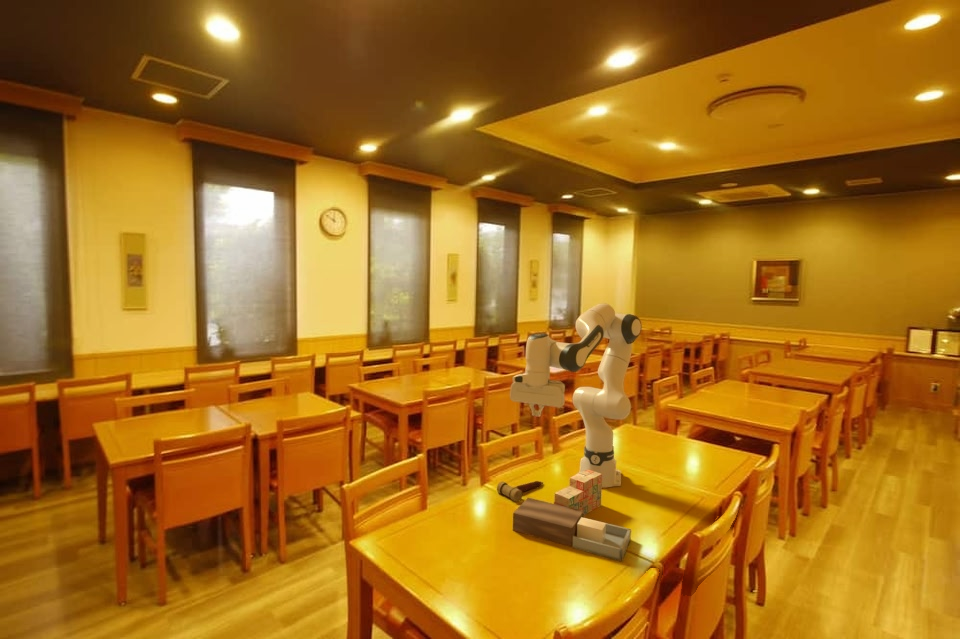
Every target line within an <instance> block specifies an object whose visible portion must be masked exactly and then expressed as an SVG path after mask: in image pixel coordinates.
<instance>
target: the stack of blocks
mask: <svg viewBox="0 0 960 639" xmlns="http://www.w3.org/2000/svg"><path fill="white" fill-rule="evenodd" d="M579 472H580V471H579ZM579 472H578V473H579ZM602 489H603V488H602V474H601V473H598V472H594V471H591V470H585V471H582V472H580V473H579V474H577V473H576V474H575V475H573V476H572V475H571V477H569V486H567V487H564V488H562V489H560V490H558V491H556V492H554V502H553V504H557V505H561V506H565V507H569V508H573V509H577V510H582V511H583V516H585V515H587V514H588V513H590V512H592V511H594V510H595V509H597V508H599V507H601V506H602Z"/></svg>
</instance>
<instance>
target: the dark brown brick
mask: <svg viewBox="0 0 960 639" xmlns="http://www.w3.org/2000/svg"><path fill="white" fill-rule="evenodd" d="M581 517H583V518H584V515H583V511H582V510H577V509H573V508H569V507H565V506H561V505H557V504H554V503H552V502H548V501H544V500H538V499H535V498H531V497H527V498H526V499H525V500H524V501H523V502H522V503H521V504H520V505H519V506H518V507H517V508H516V510H514V512H513V513H512V531H514V532H517V533H521V534H524V535H528V536H532V537H536V538H538V539H541V540H542V539H543V540H546V541H550V542H554V543H557V544H560V545H564V546H568V547H571V548H573V536H576V537H577V523H578V522H579V520H580V519H581Z"/></svg>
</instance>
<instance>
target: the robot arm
mask: <svg viewBox="0 0 960 639" xmlns="http://www.w3.org/2000/svg"><path fill="white" fill-rule="evenodd" d="M642 327H643V326H642V321H641V319H640V317H639V316H637V315H635V314H634V315H633V314H631V313H627V314H626V313H620V312H615V309H614V307H613V306H611V305H610V304H608V303H605V302H602V303H598V304H595V305H594V306H592V307H590V308H589V309H587V310H585V311H584V312H582V313H581V314H580V315H579V316H578V318H577V319H576V321H575V330H576V332H577V333H576V334H578V336H579V338H581V340H580V341H578V342H576V343H568V342H562V341H561V342H560V341H556V340H554V339H553V338H551V337H550V336H549V334H548V333H543V332H539V333H533V334H530V335H528V338H527V340H526V345H525V362H526V365H525V371H524V372H522V373H518V374H516V375H514V376H512V383H511V385H510V390H509V399H510V401H512V402H518V403H526V404H528V406H529V408H530V411H531V416H532V417H541V415H542V411H543V410H544V408H545V406H548V407H554V408H562V407H563V406H564V405H565V402H566V398H565V392H566V384H565V383H564V382H562V381H561V380H554V379H550V378H551V375H550V374H551V368H554V369H555V368H556V369H562V370H564V371H569V372H572V373H576V372H578V371H580V370H581V369H582V368H584V366H585V365H586V362H587V360H588V358H590V355H592V353H593V352H594V351H595V350H596V348H597V347H598V346H599V345H600V344H601V342H602V341H603V339H609V342H608V344H607V346H606V348H605V350H604V353H603V355H602V357H601V361H600V362H599V366H598V368H597V374H598V378H599V379H600V380H601V381H602V383H603V387H602V388H597V387H593V386H579V387H578V388H576V389H575V390H574V392H573V394H572V404H573V406H574V408H575V409H576V410H577V411H578V413H579V414H580V416H581V418H582V421H583V423H584V429H585V446H584V451H583V452H584V454H583V457H581V459H580V464H579V472H577V473H576V474H579V473H580V472H582V471H585V470H591V471H594V472H598V473H601V474H602V489H603V488H612V487H621V486H622V471H621V470H619V469H617V460H616V459H615V451H614V450H615V447H614V431H613V428H612V427H611V426H610V425H609V424H608V423H607V422H606V420H605V418H606V419H610V420H624V419H626V418H627V417H628V416H629V415H630V414H631V409H632V406H631V405H632V404H631V400H630V398H629V396H627V394H626V392H625V389H624V383H625V382H624V380H625V376H626V373H627V370H628V367H629V364H630V361H631V357H632V351H633V343H634V342H635V341H636V340H637V339H638V338H639V336H640V334H641V332H642ZM550 367H551V368H550ZM535 405H538V408H539V409H538V410H536V408H535Z"/></svg>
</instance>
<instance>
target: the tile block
mask: <svg viewBox="0 0 960 639" xmlns="http://www.w3.org/2000/svg"><path fill="white" fill-rule="evenodd" d="M599 521H600V520H599ZM599 521H598V520H596V521H595V519H592V520H591V518H588V519H587V517H584V516H583V517H581V519H580V520H579V522H578V523H577V537H580V538H583V539H587V540H591V541H595V542H598V543H602V544H603V543H604V540H605V538H606V523H607V522H604V523H603V521H600V522H599Z"/></svg>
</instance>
